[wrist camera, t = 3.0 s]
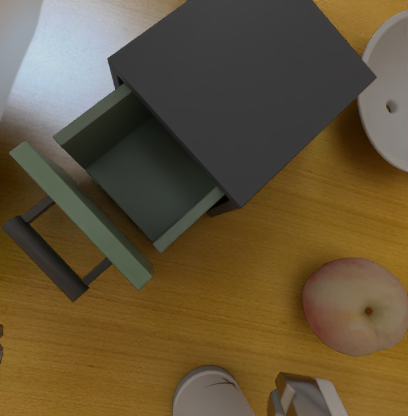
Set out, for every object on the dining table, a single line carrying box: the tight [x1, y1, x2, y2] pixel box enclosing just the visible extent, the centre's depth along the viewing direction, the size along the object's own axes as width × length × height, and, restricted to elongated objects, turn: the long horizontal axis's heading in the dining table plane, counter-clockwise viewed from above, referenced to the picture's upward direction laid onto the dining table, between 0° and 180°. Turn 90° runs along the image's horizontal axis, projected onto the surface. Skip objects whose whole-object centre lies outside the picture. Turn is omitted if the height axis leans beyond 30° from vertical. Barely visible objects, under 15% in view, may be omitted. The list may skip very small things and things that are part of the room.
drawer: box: [2, 83, 225, 302], centre depth 22 cm, size 18×11×8 cm, turn 133°
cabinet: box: [108, 0, 377, 217], centre depth 24 cm, size 15×13×10 cm
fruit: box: [302, 258, 408, 357], centre depth 25 cm, size 8×8×8 cm
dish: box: [357, 10, 408, 173], centre depth 30 cm, size 18×14×5 cm
